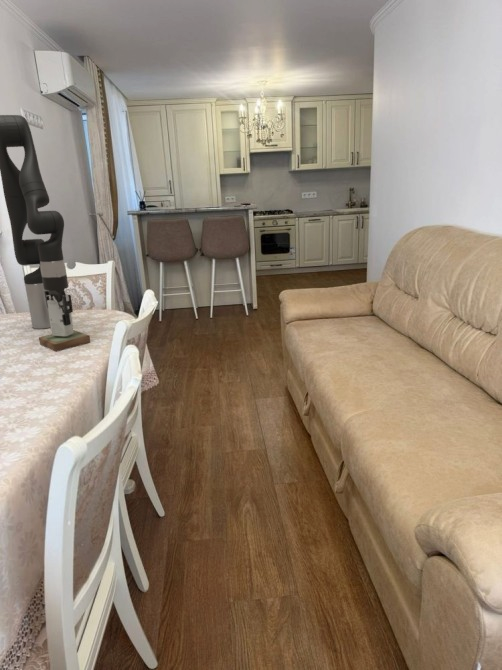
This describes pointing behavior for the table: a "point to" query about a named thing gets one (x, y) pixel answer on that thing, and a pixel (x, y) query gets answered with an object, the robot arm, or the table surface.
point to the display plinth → (64, 341)
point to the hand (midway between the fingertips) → (61, 322)
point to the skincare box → (58, 320)
